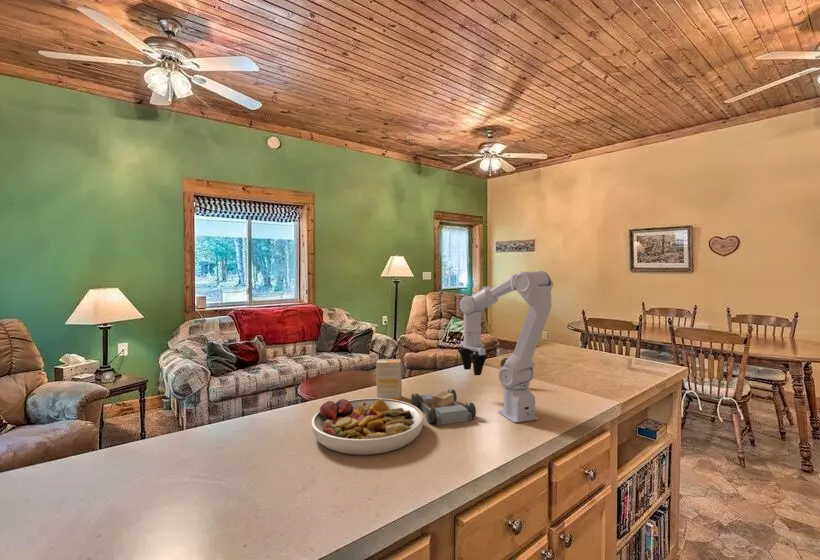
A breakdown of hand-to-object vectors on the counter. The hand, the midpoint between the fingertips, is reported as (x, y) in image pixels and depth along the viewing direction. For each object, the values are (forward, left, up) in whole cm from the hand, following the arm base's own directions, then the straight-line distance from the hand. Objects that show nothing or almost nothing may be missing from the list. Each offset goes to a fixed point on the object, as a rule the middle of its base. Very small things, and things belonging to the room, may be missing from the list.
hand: (472, 372), depth 138 cm
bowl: (-15, +39, -10) cm, 43 cm away
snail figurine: (+10, -20, -10) cm, 24 cm away
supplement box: (+11, +26, -10) cm, 30 cm away
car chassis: (-7, +14, -9) cm, 18 cm away
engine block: (-7, +14, -9) cm, 18 cm away
